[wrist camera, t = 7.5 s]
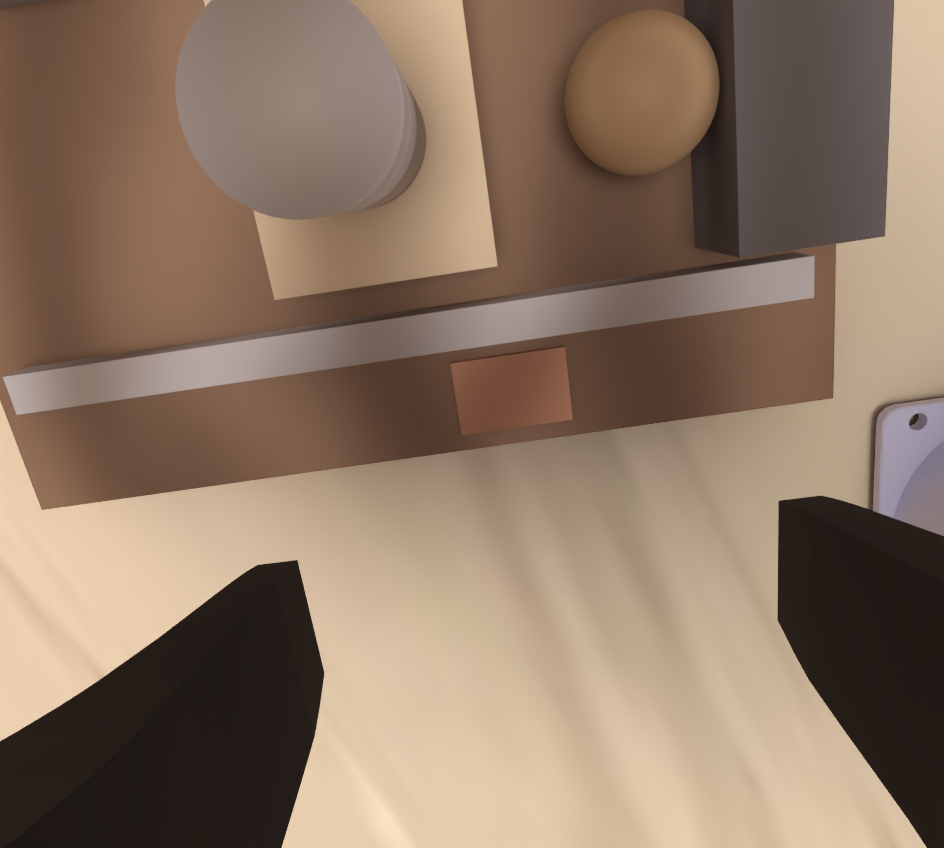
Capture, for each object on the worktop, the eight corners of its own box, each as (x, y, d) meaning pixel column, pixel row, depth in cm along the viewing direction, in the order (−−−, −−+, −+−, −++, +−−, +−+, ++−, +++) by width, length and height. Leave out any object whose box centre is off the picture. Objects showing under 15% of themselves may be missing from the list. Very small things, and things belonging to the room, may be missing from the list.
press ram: (456, -19, 15) (447, -227, 8) (494, 257, 17) (516, 311, 10) (234, 18, 15) (11, -149, 8) (295, 287, 17) (162, 363, 10)
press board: (811, -324, 15) (956, -540, 11) (807, 383, 20) (904, 438, 16) (-159, -148, 16) (-402, -279, 11) (70, 488, 21) (-37, 568, 16)
